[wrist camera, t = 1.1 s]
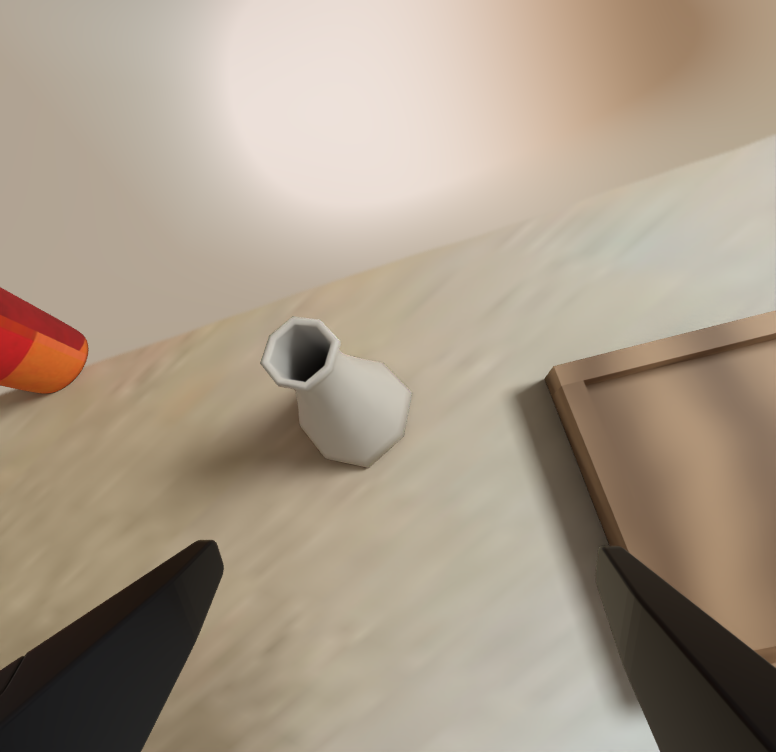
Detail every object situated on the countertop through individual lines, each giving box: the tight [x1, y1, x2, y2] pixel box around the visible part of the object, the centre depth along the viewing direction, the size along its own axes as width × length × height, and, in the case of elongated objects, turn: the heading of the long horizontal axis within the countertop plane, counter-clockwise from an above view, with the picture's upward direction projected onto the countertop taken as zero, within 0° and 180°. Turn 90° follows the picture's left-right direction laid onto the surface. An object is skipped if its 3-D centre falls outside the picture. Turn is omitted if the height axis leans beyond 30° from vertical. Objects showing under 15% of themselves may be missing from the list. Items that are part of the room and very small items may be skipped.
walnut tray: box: [545, 311, 776, 667], centre depth 19 cm, size 16×16×2 cm
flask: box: [260, 316, 412, 468], centre depth 20 cm, size 7×7×10 cm
